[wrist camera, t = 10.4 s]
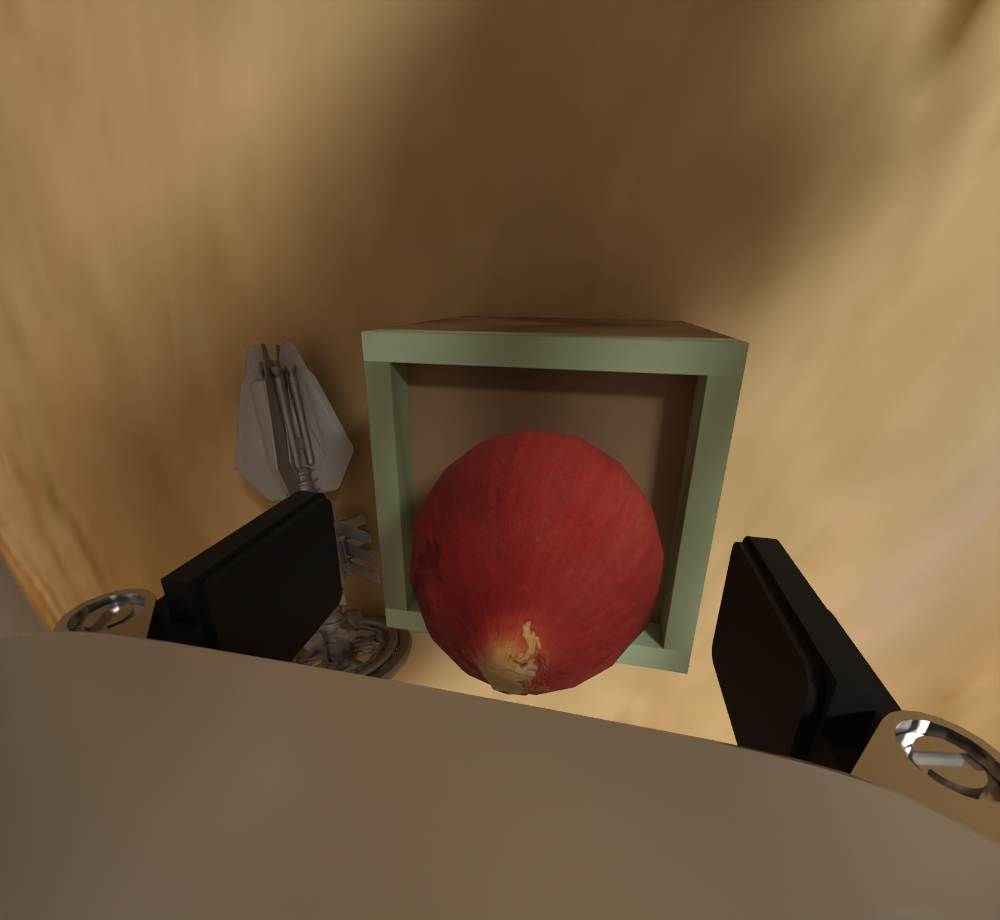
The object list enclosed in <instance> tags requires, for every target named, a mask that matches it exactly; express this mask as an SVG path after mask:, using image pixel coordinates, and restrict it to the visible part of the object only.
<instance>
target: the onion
mask: <svg viewBox="0 0 1000 920" xmlns="http://www.w3.org/2000/svg"><path fill="white" fill-rule="evenodd" d="M663 557H664V552H663V548H662V544H661V540H660V536H659V532H658V528H657V525H656V521H655V517H654V513H653V509H652V507H651V505H650V503H649V502H648V500H647V498H646V496H645V495H644V493H643V492H642V491H641V490H640V488H639V487H638V486H637V484H636V483H635V482H634V480H633V479H632V478H631V476H630V475H629V474H628V473H627V471H626V470H625V469H624V467H623V466H622V465H621V463H620V462H619V461H617V460H615V459H614V458H612V457H611V456H609V455H607V454H606V453H604V452H603V451H601V450H599V449H598V448H596V447H595V446H593V445H591V444H590V443H588V442H587V441H585V440H583V439H582V438H580V437H575V436H570V435H565V434H560V433H555V432H550V431H545V430H540V429H530V430H526V431H521V432H516V433H512V434H507V435H503V436H498V437H494V438H490V439H488V440H485V441H482V442H479V443H478V444H477V445H476V446H474V447H473V448H472V449H470V450H469V451H468V452H466V453H465V454H464V455H462V456H461V457H460V458H458V459H457V460H456V461H454V462H453V463H452V464H451V465H449V466H448V467H447V468H445V469H444V471H443V473H442V474H441V476H440V477H439V479H438V480H437V482H436V484H435V485H434V487H433V488H432V490H431V491H430V493H429V495H428V496H427V498H426V499H425V501H424V502H423V504H422V506H421V508H420V510H419V512H418V514H417V515H416V517H415V522H414V532H413V541H412V551H411V561H410V570H409V578H410V582H411V586H412V590H413V593H414V596H415V598H416V601H417V604H418V607H419V609H420V612H421V615H422V618H423V620H424V623H425V626H426V629H427V631H428V632H429V634H430V636H431V637H432V639H433V641H434V642H435V643H436V644H437V645H438V646H439V647H440V648H441V649H442V650H443V651H444V652H445V653H446V654H447V655H448V656H449V657H450V658H451V659H452V660H453V661H454V662H455V663H456V664H457V665H458V666H459V667H460V668H461V669H462V670H463V671H464V672H466V673H467V674H468V675H470V676H472V677H474V678H477V679H479V680H481V681H483V682H486V683H488V684H490V685H491V687H492V688H493V690H496V691H499V692H502V693H505V694H515V695H525V696H526V695H528V694H533V695H539V694H543V693H548V692H553V691H558V690H563V689H568V688H573V687H575V686H577V685H579V684H581V683H582V682H584V681H586V680H588V679H590V678H591V677H593V676H595V675H597V674H599V673H600V672H602V671H604V670H606V669H607V668H609V667H611V666H612V665H613V664H614V663H615V662H616V661H617V660H618V659H619V657H620V656H621V655H622V654H623V653H624V652H625V650H626V649H627V648H628V647H629V646H630V645H631V644H632V643H633V642H634V640H635V639H636V638H637V637H638V636H639V635H640V634H641V633H642V632H643V631H644V630H645V629H646V628H647V626H648V624H649V622H650V620H651V618H652V615H653V613H654V610H655V605H656V600H657V595H658V590H659V585H660V580H661V575H662V568H663Z"/></svg>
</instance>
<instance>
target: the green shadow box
mask: <svg viewBox="0 0 1000 920" xmlns="http://www.w3.org/2000/svg"><path fill="white" fill-rule="evenodd" d="M361 337H362V349H363V360H364V372H365V383H366V395H367V406H368V418H369V430H370V441H371V453H372V464H373V476H374V487H375V499H376V510H377V522H378V533H379V545H380V556H381V568H382V579H383V591H384V603H385V614H386V626H387V627H392V628H398V629H405V630H411V631H418V632H424V633H429V632H428V631H427V629H426V626H425V623H424V620H423V618H422V615H421V612H420V609H419V607H418V604H417V601H416V598H415V596H414V593H413V590H412V586H411V582H410V578H409V570H410V561H411V551H412V541H413V532H414V522H415V517H416V515H417V514H418V512H419V510H420V508H421V506H422V504H423V502H424V501H425V499H426V498H427V496H428V495H429V493H430V491H431V490H432V488H433V487H434V485H435V484H436V482H437V480H438V479H439V477H440V476H441V474H442V473H443V471H444V469H445V468H447V467H448V466H449V465H451V464H452V463H453V462H454V461H456V460H457V459H458V458H460V457H461V456H462V455H464V454H465V453H466V452H468V451H469V450H470V449H472V448H473V447H474V446H476V445H477V444H478V443H479V442H482V441H485V440H488V439H490V438H494V437H498V436H503V435H507V434H512V433H516V432H521V431H526V430H530V429H540V430H545V431H550V432H555V433H560V434H565V435H570V436H575V437H580V438H582V439H583V440H585V441H587V442H588V443H590V444H591V445H593V446H595V447H596V448H598V449H599V450H601V451H603V452H604V453H606V454H607V455H609V456H611V457H612V458H614V459H615V460H617V461H619V462H620V463H621V465H622V466H623V467H624V469H625V470H626V471H627V473H628V474H629V475H630V476H631V478H632V479H633V480H634V482H635V483H636V484H637V486H638V487H639V488H640V490H641V491H642V492H643V493H644V495H645V496H646V498H647V500H648V502H649V503H650V505H651V507H652V509H653V513H654V517H655V521H656V525H657V528H658V532H659V536H660V540H661V544H662V548H663V552H664V557H663V568H662V575H661V580H660V585H659V590H658V595H657V600H656V605H655V610H654V613H653V615H652V618H651V620H650V622H649V624H648V626H647V628H646V629H645V630H644V631H643V632H642V633H641V634H640V635H639V636H638V637H637V638H636V639H635V640H634V642H633V643H632V644H631V645H630V646H629V647H628V648H627V649H626V650H625V652H624V653H623V654H622V655H621V656H620V657H619V659H618V660H617V661H616V662H615V663H622V664H628V665H634V666H641V667H647V668H653V669H660V670H666V671H673V672H679V673H685V674H687V672H688V667H689V662H690V656H691V651H692V645H693V640H694V635H695V629H696V624H697V619H698V613H699V608H700V603H701V597H702V592H703V587H704V581H705V576H706V571H707V565H708V560H709V555H710V549H711V544H712V539H713V533H714V528H715V523H716V517H717V512H718V507H719V501H720V496H721V490H722V485H723V480H724V474H725V469H726V464H727V458H728V453H729V448H730V442H731V437H732V432H733V426H734V421H735V416H736V410H737V405H738V400H739V394H740V389H741V384H742V378H743V373H744V368H745V362H746V357H747V352H748V346H749V343H747V342H744V341H741V340H738V339H735V338H732V337H729V336H726V335H723V334H720V333H717V332H713V331H710V330H707V329H704V328H701V327H698V326H695V325H692V324H689V323H686V322H683V321H657V320H611V319H564V318H518V317H471V316H462V317H455V318H448V319H442V320H435V321H429V322H422V323H416V324H409V325H402V326H396V327H389V328H383V329H376V330H370V331H363V332H361Z"/></svg>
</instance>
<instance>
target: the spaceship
mask: <svg viewBox="0 0 1000 920" xmlns="http://www.w3.org/2000/svg"><path fill="white" fill-rule="evenodd" d="M276 354H277V360H271V361H270V358H269V355H268V352H267V349H266V346H265V344H261V347H260V346H252V347H248V348H247V355H246V366H245V378H244V381H243V382H242V383H241V387H240V401H239V416H238V430H237V444H236V458H235V469H236V470H237V471H238V472H239V473H240V474H241V475H242V476H243V477H244V478H245V479H246V480H247V481H248V482H249V483H251V484H252V485H253V486H254V487H255V488H256V489H257V490H258V491H259V492H260V493H261V494H262V495H263V496H264V497H265V498H266V499H267V500H268V501H270V502H272V501H278V500H284V499H286V498H287V497H289V496H291V495H292V494H294V493H295V492H297V491H309V492H319V493H322V492H327V491H333V490H338V488H339V487H340V484H341V482H342V479H343V477H344V474H345V472H346V469H347V467H348V464H349V462H350V459H351V457H352V454H353V452H354V447H353V445H352V443H351V441H350V440H349V438H348V436H347V434H346V432H345V430H344V428H343V427H342V425H341V423H340V421H339V419H338V417H337V415H336V414H335V412H334V410H333V408H332V406H331V404H330V402H329V401H328V399H327V397H326V395H325V393H324V391H323V389H322V388H321V386H320V384H319V382H318V380H317V378H316V376H315V375H314V374H313V373H311V372H309V370H308V368H307V366H306V365H305V363H304V361H303V359H302V357H301V356H300V354H299V352H298V350H297V348H296V347H295V345H294V344H293V343H292V342H289V343H282V344H281V345H280V347H279V345H276ZM336 519H337V521H334V526H335V534H336V542H337V550H338V558H339V567H340V575H341V583H342V589H343V588H345V587H346V584H345V577H346V573H345V572H348V575H350V576H351V573H352V574H355V575H357V576H360V577H362V578H365V579H367V580H369V581H372V582H374V583H377V584H379V585H381V583H380V578H379V575H378V574H376V573H374V572H372V571H370V570H368V569H366V568H364V567H362V565H364V564H365V563H367V562H370V563H373V564H375V565H376V564H377V563H376V558H375V555H374V553H373V550H367V551H366V550H364V549H362V548H359V547H360V546H362V545H363V544H365V543H370V544H373V543H372V538H371V534H370V533H369V532H365V531H363V530H360V529H357V528H358V527H360V526H361V525H363V524H365V523H367V518H366V514H360V515H357V516H354V517H351V518H348V519H345V520H342V521H340V519H339V517H336ZM345 536H346V537H349V538H348V539H345ZM344 539H345V540H344ZM347 555H350V556H353V557H350V558H348V557H347ZM344 556H345V557H344ZM339 604H340V605H347V603H346V598H345V595H344V594H342V598H341V601H340V603H339ZM340 605H338V607H337V608H336V609H335V610H334V611H333V613H332V614H331V615H330V616H329V617H328V618H327V620H326V621H325V622H324V623H323V624H322V625H321V627H320V628H319V629H318V630H317V631H316V633H315V634H314V635H313V636H312V637H311V638H310V640H309V641H308V642H307V643H306V644H305V645H304V647H303V648H302V649H301V650H300V651H299V653H298V654H297V655H296V656H295V657H294V658H293V660H292V661H291V663H296V664H302V665H308V666H311V665H313V664H314V663H315V662H320V661H322V663H320V664H321V665H320V664H318V665H316V666H314V667H319V666H320V667H319V668H325V669H330V670H336V671H342V672H347V673H353V674H358V675H364V676H370V677H375V678H381V679H387V680H390V679H391V678H392V677H393V676H394V675H395V674H396V673H397V672H398V671H399V670H400V669H401V668H402V666H403V665H404V664H405V662H406V660H407V658H408V656H409V653H410V650H411V646H412V638H411V635H410V633H409V631H408V630H405V629H398V628H392V627H387V626H386V618H385V617H362V612H361V610H359V609H351V610H347V611H345V612H344V613H343V612H341V611H342V607H341V606H340ZM368 645H370V646H374V647H373V648H365V649H361V648H363V647H364V646H368ZM396 646H397V650H396ZM375 648H376V649H375ZM377 648H378V649H377ZM368 649H371V650H372V651H374V650H376V652H372V651H371V652H369V653H366V652H363V650H368ZM360 650H361V651H360ZM358 652H363V653H362V654H357V653H358ZM394 652H396V653H395V654H394ZM372 653H374V654H373V655H372V656H371V657H370V658H369V660H368V661H367V662H365V663H363V662H361V661H359V660H357V659H356V658H357V656H358V655H365V654H372ZM377 653H379V654H378V655H377ZM393 654H394V655H393ZM376 655H377V656H376ZM392 655H393V656H392ZM375 656H376V657H375ZM322 657H324V658H322ZM374 657H375V658H374ZM373 658H374V659H373ZM372 659H373V660H372ZM371 660H372V661H371ZM324 662H325V663H324ZM323 663H324V664H323Z"/></svg>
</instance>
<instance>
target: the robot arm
mask: <svg viewBox="0 0 1000 920" xmlns="http://www.w3.org/2000/svg"><path fill="white" fill-rule="evenodd" d="M161 583H162V586H163V590H164V593H165V595H164V596H163V597H161V598H160V599H159V600H156V597H155V595H154V594H153V593H152V592H151V591H148V590H144V589H126V590H120V591H115V592H111V593H108V594H104V595H101V596H98V597H96V598H93V599H91V600H89V601H86V602H84V603H83V604H81V605H79V606H77V607H75V608H73V609H72V610H71V611H70V612H68V613H67V614H66V615H64V616H63V617H62V618H61V620H60V621H59V622H58V623H57V625H56V626H55V628H54V630H53V632H45V633H33V634H26V635H19V636H11V637H5V638H0V920H1000V752H998V751H997V750H996V749H994V748H993V747H992V746H991V745H989V744H988V743H987V742H985V741H984V740H982V739H981V738H979V737H977V736H976V735H974V734H972V733H971V732H969V731H967V730H966V729H964V728H962V727H960V726H958V725H956V724H953V723H951V722H949V721H947V720H944V719H942V718H939V717H936V716H933V715H929V714H926V713H922V712H916V711H906V710H901V709H900V707H899V706H898V704H897V703H896V702H895V700H894V699H893V697H892V696H891V695H890V693H889V692H888V690H887V689H886V688H885V686H884V685H883V683H882V682H881V681H880V679H879V678H878V677H877V675H876V674H875V672H874V671H873V670H872V668H871V667H870V665H869V664H868V663H867V661H866V660H865V658H864V657H863V656H862V654H861V653H860V651H859V650H858V649H857V647H856V646H855V644H854V643H853V642H852V640H851V639H850V638H849V636H848V635H847V633H846V632H845V631H844V629H843V628H842V626H841V625H840V624H839V622H838V621H837V619H836V618H835V617H834V615H833V614H832V613H831V612H830V611H829V610H828V609H827V608H826V607H825V605H824V604H823V603H822V601H821V600H820V598H819V597H818V596H817V594H816V593H815V591H814V590H813V589H812V587H811V586H810V584H809V583H808V582H807V580H806V579H805V577H804V576H803V575H802V573H801V572H800V570H799V569H798V568H797V566H796V565H795V563H794V562H793V560H792V559H791V558H790V556H789V555H788V553H787V552H786V551H785V549H784V548H783V546H782V545H781V544H780V542H779V541H778V540H777V539H770V538H760V537H750V536H746V537H745V538H744V540H743V541H742V542H735V543H734V545H733V547H732V551H731V556H730V561H729V566H728V571H727V576H726V581H725V586H724V590H723V595H722V600H721V605H720V610H719V615H718V620H717V624H716V629H715V634H714V639H713V644H712V660H713V664H714V668H715V671H716V674H717V678H718V681H719V684H720V688H721V691H722V694H723V698H724V701H725V704H726V708H727V711H728V714H729V718H730V721H731V725H732V728H733V731H734V735H735V738H736V741H737V745H738V746H737V745H732V744H728V743H723V742H719V741H714V740H709V739H704V738H699V737H694V736H688V735H683V734H678V733H672V732H667V731H662V730H656V729H651V728H646V727H641V726H635V725H630V724H625V723H619V722H614V721H609V720H603V719H598V718H593V717H587V716H582V715H577V714H571V713H566V712H561V711H555V710H550V709H545V708H539V707H534V706H528V705H523V704H518V703H512V702H507V701H501V700H496V699H491V698H485V697H480V696H474V695H469V694H464V693H458V692H453V691H447V690H442V689H436V688H431V687H425V686H420V685H414V684H409V683H403V682H398V681H392V680H387V679H381V678H375V677H370V676H364V675H358V674H353V673H347V672H342V671H336V670H330V669H325V668H319V667H314V666H308V665H302V664H296V663H291V661H292V660H293V658H294V657H295V656H296V655H297V654H298V653H299V651H300V650H301V649H302V648H303V647H304V645H305V644H306V643H307V642H308V641H309V640H310V638H311V637H312V636H313V635H314V634H315V633H316V631H317V630H318V629H319V628H320V627H321V625H322V624H323V623H324V622H325V621H326V620H327V618H328V617H329V616H330V615H331V614H332V613H333V611H334V610H335V609H336V608H337V607H338V605H339V603H340V601H341V598H342V583H341V575H340V567H339V558H338V550H337V542H336V534H335V526H334V518H333V510H332V504H331V502H330V500H329V499H326V497H325V495H324V494H323V493H319V492H309V491H297V492H295V493H294V494H292V495H291V496H289V497H287V498H286V499H284V500H283V501H281V502H280V503H278V504H277V505H275V506H274V507H272V508H270V509H269V510H267V511H266V512H264V513H263V514H261V515H260V516H258V517H256V518H255V519H253V520H252V521H250V522H249V523H247V524H246V525H244V526H243V527H241V528H239V529H238V530H236V531H235V532H233V533H232V534H230V535H229V536H227V537H225V538H224V539H222V540H221V541H219V542H218V543H216V544H215V545H213V546H211V547H210V548H208V549H207V550H205V551H204V552H202V553H201V554H199V555H198V556H196V557H194V558H193V559H191V560H190V561H188V562H187V563H185V564H184V565H182V566H180V567H179V568H177V569H176V570H174V571H173V572H171V573H170V574H168V575H167V576H165V577H163V578H162V579H161Z"/></svg>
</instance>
